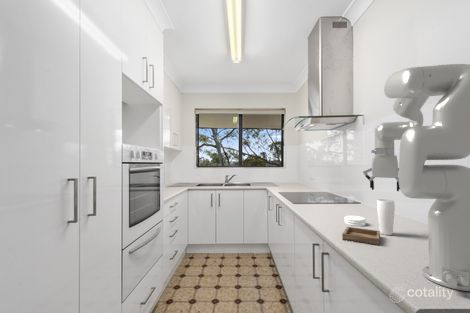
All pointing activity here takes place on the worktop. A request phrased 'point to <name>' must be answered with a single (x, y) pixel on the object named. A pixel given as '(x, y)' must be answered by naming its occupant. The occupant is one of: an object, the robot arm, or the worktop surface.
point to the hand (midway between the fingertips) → (385, 190)
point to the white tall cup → (385, 216)
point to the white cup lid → (355, 220)
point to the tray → (361, 235)
